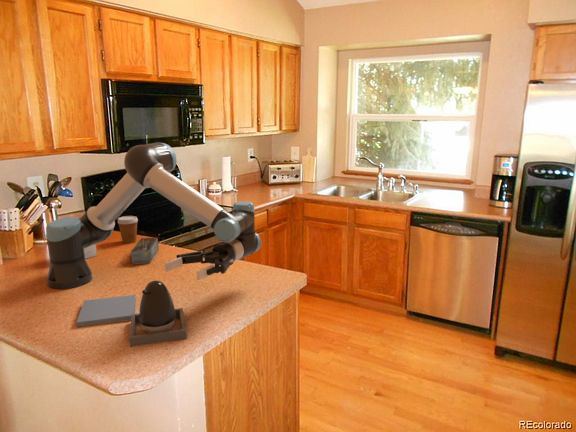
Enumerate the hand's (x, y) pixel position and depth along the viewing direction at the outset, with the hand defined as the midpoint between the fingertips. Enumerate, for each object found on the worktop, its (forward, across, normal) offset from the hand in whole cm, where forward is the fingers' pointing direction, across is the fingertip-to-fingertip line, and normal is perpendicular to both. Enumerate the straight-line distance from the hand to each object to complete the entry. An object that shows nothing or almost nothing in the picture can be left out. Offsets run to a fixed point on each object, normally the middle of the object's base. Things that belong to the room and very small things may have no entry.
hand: (181, 271), depth 131 cm
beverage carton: (-33, +58, -15) cm, 68 cm away
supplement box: (-17, +81, -14) cm, 84 cm away
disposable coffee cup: (-43, +82, -14) cm, 94 cm away
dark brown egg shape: (+10, 0, -15) cm, 18 cm away
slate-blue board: (+10, +23, -15) cm, 29 cm away
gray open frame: (+10, 0, -15) cm, 18 cm away
